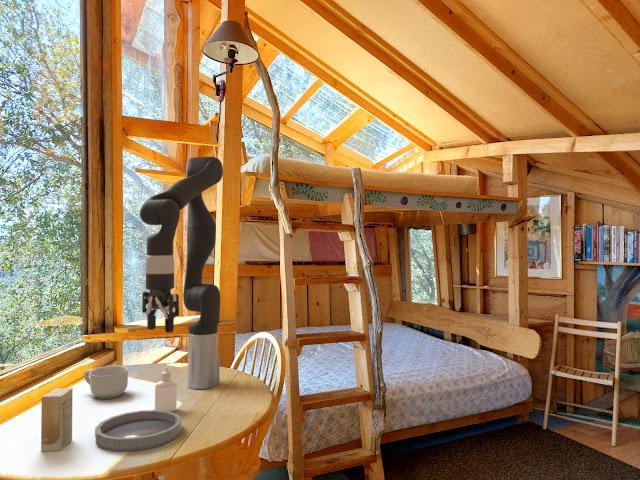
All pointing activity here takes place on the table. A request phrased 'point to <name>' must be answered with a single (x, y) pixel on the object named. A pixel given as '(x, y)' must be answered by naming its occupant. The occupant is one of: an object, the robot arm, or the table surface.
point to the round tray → (138, 430)
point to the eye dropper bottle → (166, 393)
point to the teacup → (107, 381)
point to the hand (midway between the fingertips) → (160, 330)
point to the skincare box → (56, 419)
